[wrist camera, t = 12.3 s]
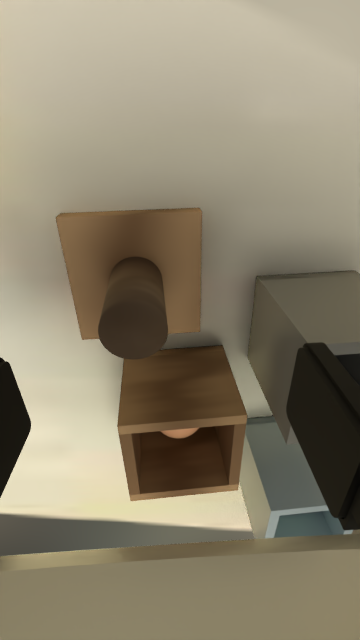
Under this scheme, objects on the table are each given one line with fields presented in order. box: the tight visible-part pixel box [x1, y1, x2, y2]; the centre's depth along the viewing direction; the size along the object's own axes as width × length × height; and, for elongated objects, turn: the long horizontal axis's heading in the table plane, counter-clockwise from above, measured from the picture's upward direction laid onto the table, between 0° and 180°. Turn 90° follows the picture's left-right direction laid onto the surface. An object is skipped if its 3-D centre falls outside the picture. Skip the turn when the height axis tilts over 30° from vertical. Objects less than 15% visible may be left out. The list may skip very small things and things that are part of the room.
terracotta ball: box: [161, 428, 199, 439], centre depth 20 cm, size 3×3×3 cm
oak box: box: [117, 345, 247, 501], centre depth 20 cm, size 6×6×6 cm
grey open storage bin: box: [248, 271, 360, 445], centre depth 17 cm, size 6×6×7 cm
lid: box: [56, 208, 202, 360], centre depth 15 cm, size 7×7×6 cm
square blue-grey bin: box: [239, 416, 353, 539], centre depth 23 cm, size 6×6×7 cm
